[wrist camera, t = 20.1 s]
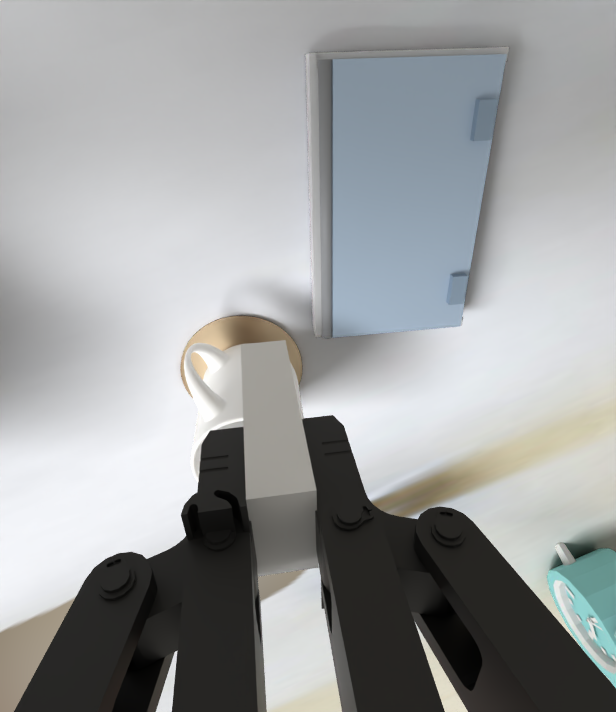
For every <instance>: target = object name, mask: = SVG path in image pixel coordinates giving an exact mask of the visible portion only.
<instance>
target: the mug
mask: <svg viewBox="0 0 616 712" xmlns="http://www.w3.org/2000/svg"><path fill="white" fill-rule="evenodd" d="M247 344H250V343H247ZM193 352H196V353H198V354H199V355H200V356H201V357H202V358H203V359H204V361H205V362H206V364H207V366H208V368H207V370H206V372H205V374H204V378H203V380H202V379H201V377H200V376H199V375H198V373H197V372H196V370H195V368H194V366H193V364H192V361H191V354H192V353H193ZM290 364H291V363H290ZM291 369H292V374H293V379H294V384H295V389H296V393H297V398H298V403H299V408H300V413H301V418H302V419H304V416H303V409H302V403H301V397H300V391H299V385H298V380H297V375H296V372H295V370H294V368H293V366H292V364H291ZM184 371H185V377H186V381H187V384H188V387H189V389H190V392H191V394H192V396H193V398H194V400H195V403H196V404H197V406H198V415H197V421H196V428H195V434H194V441H193V447H192V454H191V468H192V472H193V474H194V477H195V478H196V480H197V481H199V473H200V471H199V469H200V461H201V460H200V456H201V444H202V443H203V441H204V439H205V438H206V436H207V435H208V433H209V431H211V430H220V429H228V428H237V427H244V426H243V397H242V367H241V344H240V345H236V346H233V347H230V348H228V349H226V350H224V351H222V350H220V349H218V348H216V347H214V346H212V345H210V344H206V343H195V344H193V345H191V346H190V347H189V348H188V350H187V352H186V354H185V359H184Z"/></svg>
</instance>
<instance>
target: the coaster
mask: <svg viewBox="0 0 616 712" xmlns="http://www.w3.org/2000/svg"><path fill="white" fill-rule="evenodd" d="M281 340H286V345H287V350H288V355H289V360H290V363H291V364H292V366H293V368H294V370H295V372H296V375H297V380H298V385H299V383H300V380H301V376H302V360H301V356H300V352H299V350H298V348H297V345H296V344H295V342H294V341H293V339H292V338H291V337H290V336H289V335H288V334H287V333H286V332H285V331H284V330H283V329H282V328H280V327H279V326H277V325H275V324H273V323H271V322H269V321H267V320H264V319H261V318H257V317H251V316H232V317H226V318H222V319H219V320H216V321H214V322H211V323H209V324H208V325H206V326H204V327H203V328H201V329H200V330H199V331H198V332H197V333H196V334H195V335H193V337H192V338H191V339H190V341H189V342H188V344H187V345H186V347H185V350H184V352H183V355H182V360H181V377H182V380H183V384H184V386H185V388H186V390H187V391H188V393H189V394H190V396H191V397H192V398H193V396H192V394H191V392H190V389H189V387H188V384H187V381H186V377H185V371H184V359H185V354H186V352H187V350H188V348H189V347H190V346H191V345H193V344H195V343H206V344H210V345H212V346H214V347H216V348H218V349H220V350H222V351H224V350H226V349H228V348H230V347H233V346H236V345H240V344H247V343H260V342H270V341H281ZM191 361H192V364H193V366H194V368H195V370H196V372H197V373H198V375H199V376H200V377H201V379H202V380H203V378H204V374H205V372H206V370H207V368H208V366H207V364H206V362H205V361H204V359H203V358H202V357H201V356H200V355H199V354H198V353H196V352H193V353H192V354H191ZM193 399H194V398H193Z"/></svg>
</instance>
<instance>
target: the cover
mask: <svg viewBox="0 0 616 712" xmlns="http://www.w3.org/2000/svg"><path fill="white" fill-rule="evenodd" d="M506 56H507V54H491V55H458V56H425V57H392V58H359V59H325V60H318V102H319V172H320V242H321V312H322V337H323V338H326V339H328V338H332V337H333V338H336V337H347V336H358V335H369V334H380V333H391V332H402V331H413V330H424V329H435V328H446V327H457V326H461V320H462V315H463V309H464V303H465V297H466V291H467V285H468V279H469V273H470V268H471V262H472V256H473V250H474V244H475V238H476V232H477V226H478V221H479V215H480V209H481V203H482V197H483V191H484V185H485V179H486V174H487V168H488V162H489V156H490V150H491V144H492V138H493V132H494V127H495V121H496V115H497V109H498V103H499V97H500V91H501V85H502V80H503V74H504V68H505V62H506Z"/></svg>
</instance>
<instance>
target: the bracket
mask: <svg viewBox="0 0 616 712" xmlns="http://www.w3.org/2000/svg"><path fill="white" fill-rule="evenodd" d="M508 52H509V47H486V48H452V49H418V50H384V51H350V52H316V53H307V54H305V60H306V97H307V135H308V173H309V211H310V248H311V286H312V324H313V329H314V333H315V337H322V312H321V242H320V172H319V102H318V60H325V59H359V58H392V57H425V56H458V55H491V54H507V56H506V62H507V58H508ZM462 320H463V317H462ZM462 320H461V326H462Z"/></svg>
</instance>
